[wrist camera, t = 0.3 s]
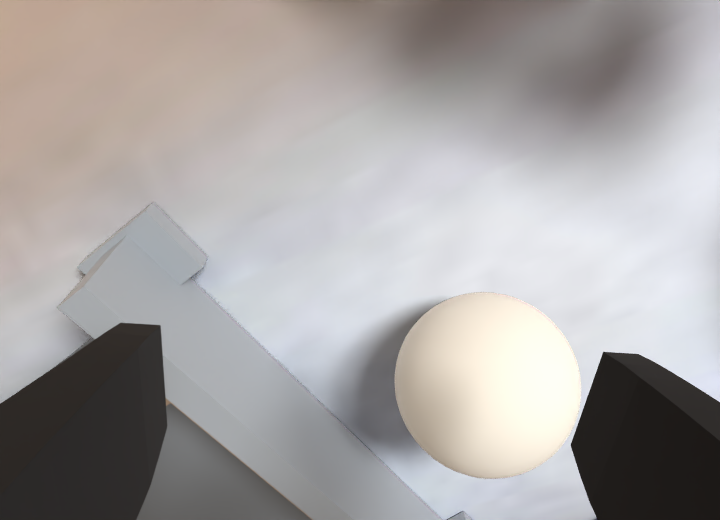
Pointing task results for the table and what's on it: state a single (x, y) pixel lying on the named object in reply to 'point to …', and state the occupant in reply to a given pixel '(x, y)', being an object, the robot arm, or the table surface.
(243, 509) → the resting mat
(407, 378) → the ball
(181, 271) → the grey barrier bar
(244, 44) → the table surface
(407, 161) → the table surface
